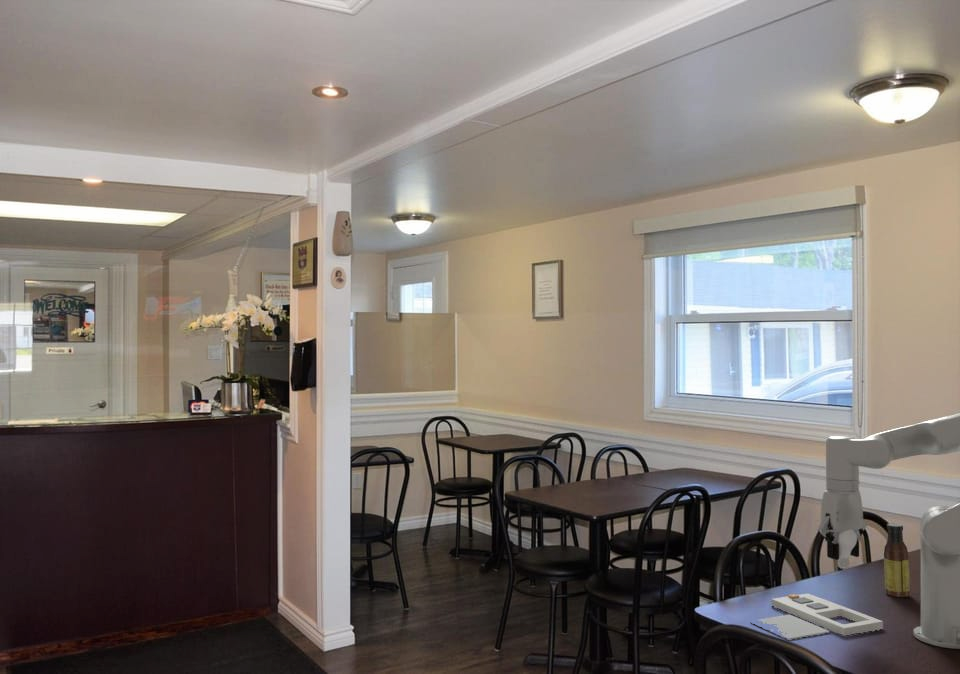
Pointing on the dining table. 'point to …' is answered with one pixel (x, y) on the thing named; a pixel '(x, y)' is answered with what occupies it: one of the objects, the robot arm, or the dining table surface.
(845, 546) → the lightbulb
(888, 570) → the sauce bottle
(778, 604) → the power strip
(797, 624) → the mat
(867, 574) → the dining table surface
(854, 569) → the dining table surface
